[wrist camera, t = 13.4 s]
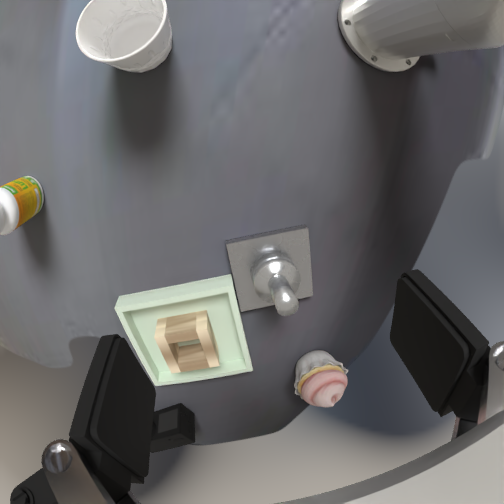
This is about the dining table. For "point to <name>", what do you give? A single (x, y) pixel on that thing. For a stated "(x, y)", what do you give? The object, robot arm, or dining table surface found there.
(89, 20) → the white cup
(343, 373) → the cupcake
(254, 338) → the dining table surface
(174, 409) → the digital camera
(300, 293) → the grey stand
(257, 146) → the dining table surface
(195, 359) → the wooden square frame
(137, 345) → the tray
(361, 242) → the dining table surface
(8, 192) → the supplement bottle
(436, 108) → the dining table surface
